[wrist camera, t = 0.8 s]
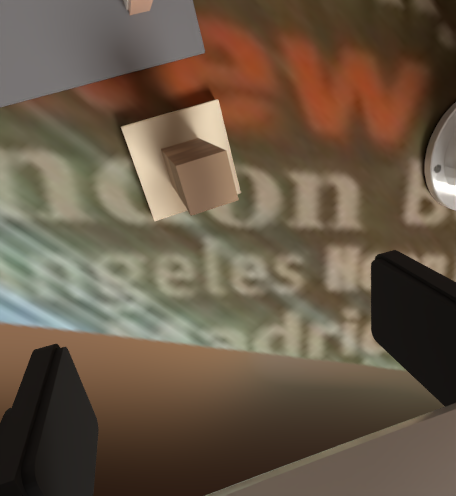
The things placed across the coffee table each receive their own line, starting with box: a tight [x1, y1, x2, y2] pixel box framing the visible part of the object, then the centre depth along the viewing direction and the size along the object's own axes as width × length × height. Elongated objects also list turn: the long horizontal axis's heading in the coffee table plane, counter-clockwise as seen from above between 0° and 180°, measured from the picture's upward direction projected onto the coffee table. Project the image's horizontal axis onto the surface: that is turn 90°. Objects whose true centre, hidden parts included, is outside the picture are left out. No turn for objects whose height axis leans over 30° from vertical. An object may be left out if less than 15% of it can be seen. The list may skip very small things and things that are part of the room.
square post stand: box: [121, 100, 241, 221], centre depth 27 cm, size 8×8×10 cm
